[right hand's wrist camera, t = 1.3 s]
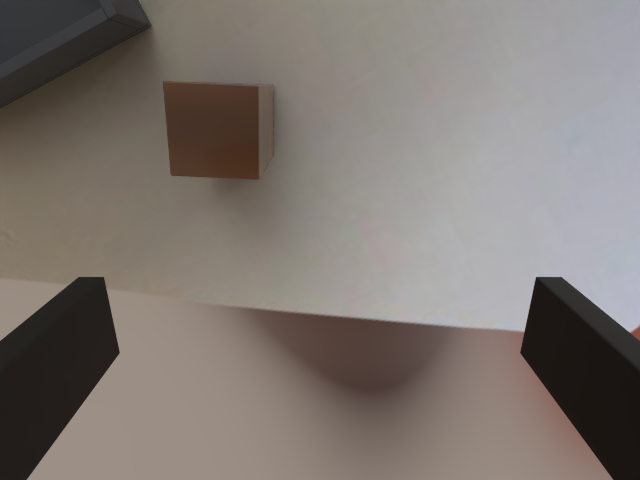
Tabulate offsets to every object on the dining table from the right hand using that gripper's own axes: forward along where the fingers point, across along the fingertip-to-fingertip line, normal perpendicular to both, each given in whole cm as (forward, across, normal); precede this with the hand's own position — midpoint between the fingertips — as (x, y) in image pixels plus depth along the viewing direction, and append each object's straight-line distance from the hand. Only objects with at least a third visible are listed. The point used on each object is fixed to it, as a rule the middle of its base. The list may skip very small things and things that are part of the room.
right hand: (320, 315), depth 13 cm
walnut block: (+17, -5, +4) cm, 19 cm away
